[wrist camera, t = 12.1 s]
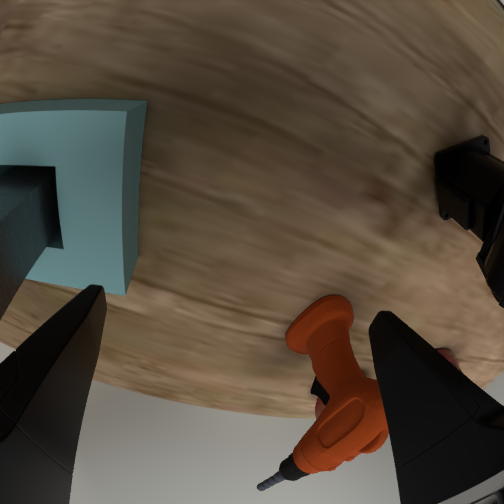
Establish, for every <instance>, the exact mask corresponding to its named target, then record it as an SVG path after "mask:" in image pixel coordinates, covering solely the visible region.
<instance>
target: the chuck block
mask: <svg viewBox="0 0 504 504" xmlns="http://www.w3.org/2000/svg"><path fill="white" fill-rule="evenodd" d="M146 108H147V101H141V100H122V99H55V100H37V101H24V102H14V103H5V104H0V175H1V174H3V173H4V172H6V171H7V170H8V169H10V168H11V167H13V166H14V165H32V166H56V185H57V198H58V208H59V218H60V226H61V228H60V229H59V231H58V232H57V233H56V235H55V236H54V237H53V239H52V240H51V241H50V243H49V244H48V245H47V247H46V248H45V250H44V251H43V253H42V254H41V255H40V257H39V258H38V260H37V261H36V263H35V264H34V266H33V267H32V269H31V270H30V272H29V273H28V275H27V276H26V278H25V279H30V280H35V281H40V282H46V283H51V284H57V285H62V286H68V287H74V288H80V289H85V288H86V287H87V286H88V285H90V284H96V285H102V286H103V287H104V290H105V293H111V294H118V295H126V292H127V289H128V286H129V283H130V280H131V277H132V273H133V270H134V268H135V265H136V262H137V259H138V213H139V188H140V171H141V157H142V145H143V134H144V125H145V116H146Z"/></svg>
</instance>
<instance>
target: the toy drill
mask: <svg viewBox="0 0 504 504" xmlns="http://www.w3.org/2000/svg"><path fill="white" fill-rule="evenodd" d="M353 319H354V316H353V309H352V306H351V304H350V302H349V301H348V300H347V299H346V298H345V297H343V296H339V295H330V296H326V297H324V298H322V299H320V300H318V301H317V302H315V303H314V304H312V305H311V306H310V307H309V308H308V309H306V310H305V311H304V312H303V313H302V314H301V315H300V316H299V317H298V318H297V319H296V320H295V321H294V322H293V323H292V325H291V326H290V327H289V329H288V331H287V334H286V343H287V346H288V347H289V348H290V349H291V350H293V351H294V352H297V353H300V354H309V356H310V358H311V360H312V367H313V370H314V372H315V374H316V377H315V379H314V382H313V385H312V388H311V394H314V395H316V396H318V397H319V398H320V399H321V400H322V402H323V404H324V405H325V408H324V409H323V411H322V412H321V414H320V415H319V417H318V418H317V419H316V421H315V422H314V424H313V425H312V426H311V427H310V429H309V430H308V431H307V433H305V435H304V436H303V437H302V438H301V440H300V441H299V443H298V444H297V445H296V447H295V448H294V450H293V453H292V454H291V455H289V457H288V458H286V459H285V460H284V461H282V462H281V464H280V467H279V472H277V473H275V474H274V475H273V476H271V477H270V478H268V479H266V480H265V481H263V482H262V483H260V484H258V485H257V489H258V490H260V491H263V490H265V489H267V488H269V487H271V486H273V485H275V484H276V483H279V482H281V481H283V480H285V479H286V480H291V481H295V480H298V479H300V478H301V477H304V476H307V475H309V474H311V473H312V474H313V473H317V472H320V471H332V470H335V469H336V467H338V466H339V465H340V464H342V462H343V461H351V460H353V459H354V458H355V457H356V456H357V455H359V454H361V453H371V452H375V451H376V450H377V449H379V448H380V447H381V446H382V445H383V444H384V442H385V441H386V439H387V437H388V433H389V430H388V425H387V421H386V416H385V411H384V407H383V403H382V398H381V394H380V390H379V386H378V381H377V380H374V379H370V378H367V377H365V375H364V374H363V372H362V370H361V369H360V367H359V365H358V363H357V361H356V359H355V357H354V354H353V351H352V347H351V344H350V338H349V329H350V327H351V325H352V323H353Z"/></svg>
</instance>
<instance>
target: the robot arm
mask: <svg viewBox="0 0 504 504" xmlns="http://www.w3.org/2000/svg"><path fill="white" fill-rule="evenodd" d="M484 141H485V142H484ZM440 158H441V160H440ZM435 166H436V174H437V191H438V202H439V206H440V216H441V218H442V219H443V220H448V219H450V218H453V219H454V220H455V221H456V222H457V223H458V224H460V225H461V226H462V227H463V228H464V229H465V230H469V229H470V230H471V231H472V232H473V233H474V234H475V235H476V236H477V237H478V238H479V239H480V240H481V241H482V242H483V245H482V247H481V250H480V252H479V253H478V255H477V257H476V260H477V262H478V264H479V266H480V268H481V270H482V272H483V275H484V277H485V279H486V282H487V285H488V287H489V288H490V290H491V292H492V294H493V295H494V297H495V299H496V300H497V301H498V302H499V305H500V306H501V307H503V308H504V162H503V161H501V160H500V159H498V158H496V157H495V156H493V155H491V154H490V145H489V139H488V137H486V136H484V135H483V136H480V137H477V138H475V139H472V140H469V141H467V142H464V143H461V144H459V145H456V146H454V147H451V148H448V149H446V150H443V151H441V152H438V153H437V154H436V155H435ZM445 214H446V215H445ZM106 311H107V304H106V297H105V290H104V287H103V286H102V285H96V284H90V285H88V286H87V287H86V288H85V289H84V290H82V291H81V292H80V293H79V294H78V295H76V296H75V297H74V298H73V299H72V300H70V301H69V302H68V303H67V304H66V305H65V306H63V307H62V308H61V309H60V310H59V311H58V312H56V313H55V314H54V315H53V316H52V317H51V318H50V319H48V320H47V321H46V322H45V323H44V324H43V325H42V326H41V327H39V328H38V329H37V330H36V331H35V332H34V333H33V334H32V335H31V336H29V337H28V338H27V339H26V340H25V341H24V342H23V343H22V344H21V345H20V346H19V347H18V348H17V349H16V351H13V352H12V353H11V354H10V355H9V356H8V357H7V358H6V359H5V360H4V361H3V362H1V363H0V504H69V500H70V492H71V483H72V476H73V475H72V474H73V469H74V463H75V456H76V451H77V445H78V440H79V434H80V430H81V425H82V420H83V415H84V411H85V407H86V402H87V397H88V394H89V390H90V386H91V382H92V378H93V374H94V371H95V367H96V363H97V359H98V355H99V350H100V344H101V338H102V333H103V327H104V322H105V317H106ZM369 338H370V344H371V350H372V356H373V363H374V369H375V373H376V377H377V381H378V386H379V390H380V394H381V398H382V403H383V407H384V411H385V416H386V421H387V425H388V430H389V435H390V440H391V446H392V451H393V456H394V462H395V468H396V474H397V481H398V488H399V495H400V502H401V504H438V503H441V504H504V406H503V405H501V404H500V403H499V402H497V401H496V400H495V399H493V398H492V397H491V396H490V395H488V394H487V393H486V392H485V391H483V390H482V389H481V388H480V387H478V386H477V385H476V384H475V383H473V382H472V381H471V380H470V379H469V378H468V377H467V376H465V375H464V374H463V373H462V372H461V371H460V370H459V369H458V370H457V368H456V367H455V366H454V365H453V364H452V363H451V362H450V361H448V360H447V359H446V358H445V357H444V356H443V355H442V354H440V353H439V352H438V351H437V350H436V349H435V348H434V347H432V346H431V345H430V344H429V343H428V342H427V341H425V340H424V339H423V338H422V337H421V336H420V335H418V334H417V333H416V332H415V331H414V330H412V329H411V328H410V327H409V326H408V325H407V324H405V323H404V322H403V321H402V320H401V319H399V318H398V317H397V316H396V315H395V314H393V313H392V312H391V311H380V312H378V314H377V315H376V317H375V318H374V320H373V322H372V323H371V325H370V327H369Z"/></svg>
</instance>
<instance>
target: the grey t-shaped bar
mask: <svg viewBox="0 0 504 504" xmlns="http://www.w3.org/2000/svg"><path fill="white" fill-rule="evenodd" d="M60 228H61V226H60V218H59V208H58V198H57V185H56V166H32V165H14V166H13V167H11V168H10V169H8V170H7V171H6V172H4V173H3V174H1V175H0V320H1V318H2V316H3V315H4V313H5V311H6V309H7V308H8V306H9V304H10V302H11V301H12V299H13V297H14V296H15V294H16V292H17V291H18V289H19V287H20V286H21V284H22V283H23V281H24V279H25V278H26V276H27V275H28V273H29V272H30V270H31V269H32V267H33V266H34V264H35V263H36V261H37V260H38V258H39V257H40V255H41V254H42V253H43V251H44V250H45V248H46V247H47V245H48V244H49V243H50V241H51V240H52V239H53V237H54V236H55V235H56V233H57V232H58V231H59V229H60Z"/></svg>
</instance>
